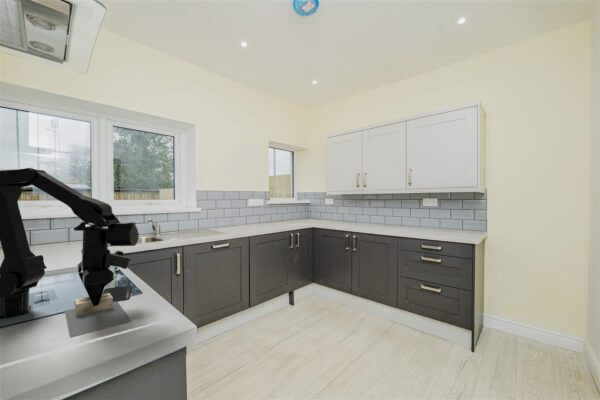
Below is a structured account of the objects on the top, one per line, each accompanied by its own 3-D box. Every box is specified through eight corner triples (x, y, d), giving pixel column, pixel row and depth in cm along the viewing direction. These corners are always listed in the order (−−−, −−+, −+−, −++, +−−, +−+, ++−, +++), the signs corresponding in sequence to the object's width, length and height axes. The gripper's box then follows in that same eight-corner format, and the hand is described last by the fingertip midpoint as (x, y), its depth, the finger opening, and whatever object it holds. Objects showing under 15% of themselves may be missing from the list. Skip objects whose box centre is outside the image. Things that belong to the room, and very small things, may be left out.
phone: (131, 285, 95) (129, 298, 82) (131, 288, 95) (129, 302, 82) (104, 288, 91) (97, 303, 78) (104, 291, 91) (97, 307, 78)
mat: (64, 312, 73) (64, 310, 73) (116, 301, 81) (116, 299, 81) (69, 339, 59) (69, 337, 59) (131, 323, 67) (131, 321, 67)
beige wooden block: (76, 315, 70) (76, 304, 70) (74, 310, 73) (74, 299, 73) (112, 307, 75) (112, 297, 75) (109, 302, 79) (109, 292, 79)
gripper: (136, 247, 74) (134, 303, 73) (121, 240, 87) (120, 287, 87) (85, 252, 66) (83, 314, 66) (78, 243, 79) (76, 294, 79)
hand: (93, 300), depth 74 cm, fingers open, 9 cm apart
